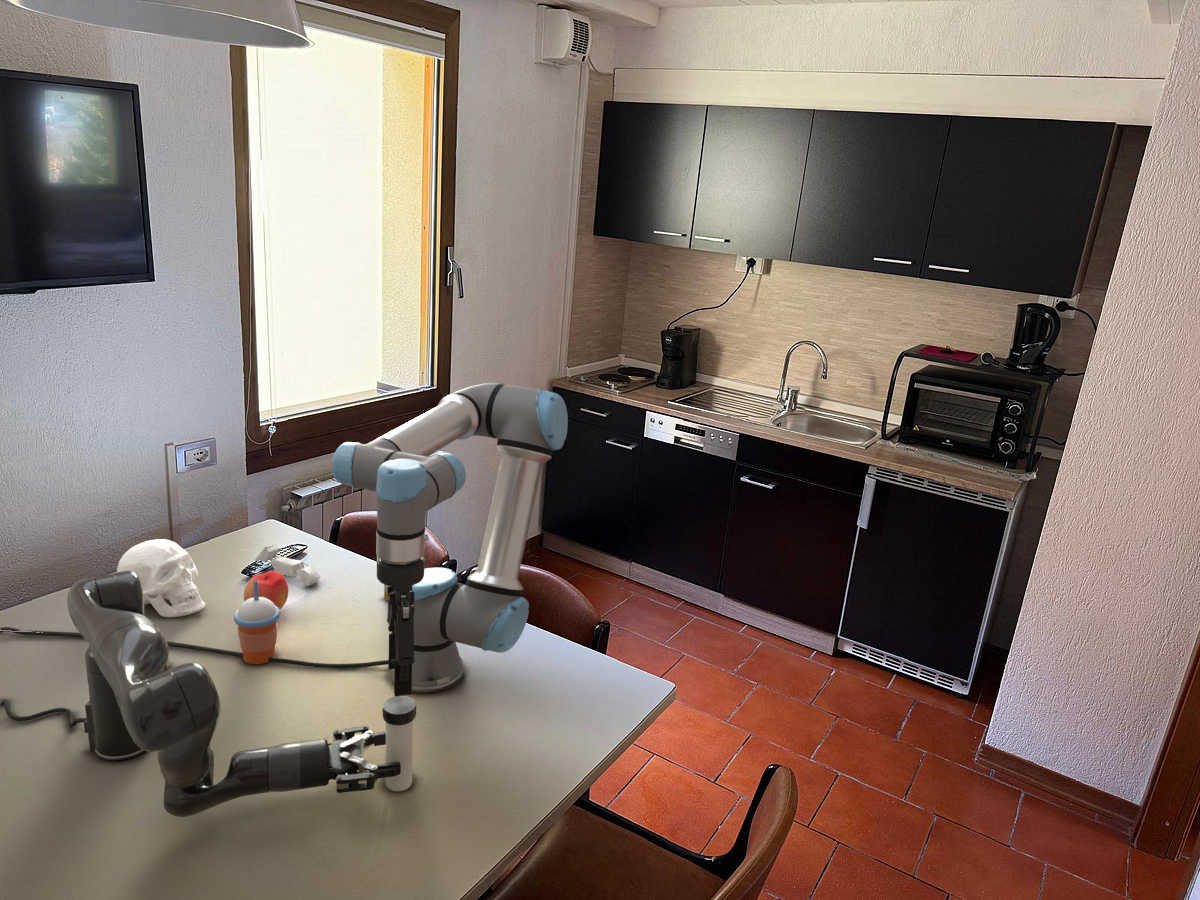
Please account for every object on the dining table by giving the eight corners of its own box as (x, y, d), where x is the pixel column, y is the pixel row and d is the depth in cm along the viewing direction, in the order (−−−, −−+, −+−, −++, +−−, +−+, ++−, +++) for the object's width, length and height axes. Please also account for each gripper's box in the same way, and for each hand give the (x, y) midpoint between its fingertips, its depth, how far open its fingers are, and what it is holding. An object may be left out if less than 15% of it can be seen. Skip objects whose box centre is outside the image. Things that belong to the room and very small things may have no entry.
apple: (273, 600, 207) (272, 562, 204) (297, 613, 202) (296, 575, 199) (237, 614, 200) (234, 575, 197) (261, 628, 194) (259, 588, 191)
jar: (414, 774, 152) (415, 699, 147) (409, 791, 147) (410, 715, 143) (388, 773, 151) (388, 698, 147) (383, 791, 147) (383, 714, 143)
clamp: (253, 565, 223) (254, 542, 221) (265, 560, 226) (266, 537, 224) (309, 593, 215) (310, 569, 213) (320, 588, 218) (321, 564, 216)
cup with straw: (266, 671, 178) (262, 594, 173) (227, 664, 180) (222, 586, 174) (290, 650, 187) (287, 575, 181) (252, 643, 188) (248, 568, 183)
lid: (418, 706, 148) (418, 696, 148) (413, 726, 143) (413, 715, 142) (386, 705, 148) (386, 694, 147) (379, 725, 143) (379, 714, 142)
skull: (183, 627, 192) (180, 562, 188) (105, 607, 198) (100, 543, 194) (224, 603, 205) (222, 542, 200) (149, 585, 210) (146, 525, 206)
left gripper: (297, 774, 134) (402, 759, 140) (297, 720, 147) (393, 709, 153) (299, 813, 137) (402, 797, 142) (298, 757, 149) (393, 744, 155)
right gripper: (434, 582, 129) (431, 712, 136) (415, 529, 147) (414, 647, 154) (383, 586, 126) (383, 719, 133) (370, 532, 144) (371, 651, 151)
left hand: (397, 751), depth 147 cm, fingers open, 8 cm apart
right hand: (399, 680), depth 143 cm, fingers open, 7 cm apart
